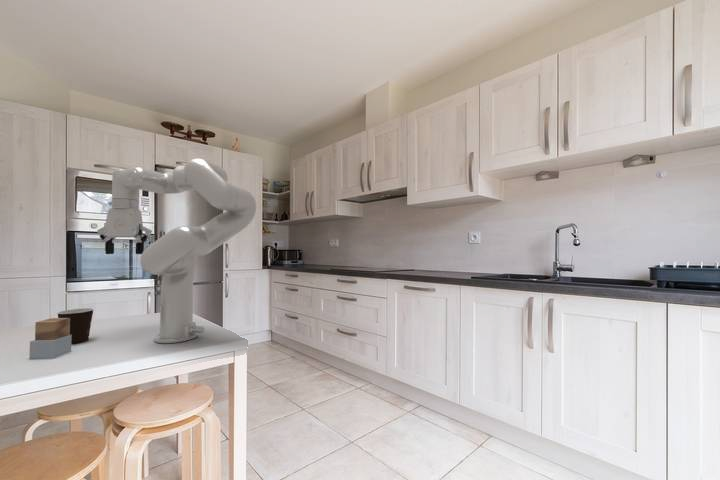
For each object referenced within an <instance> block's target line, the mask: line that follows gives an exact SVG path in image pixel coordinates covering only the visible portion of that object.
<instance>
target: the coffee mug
mask: <svg viewBox="0 0 720 480" xmlns="http://www.w3.org/2000/svg"><path fill="white" fill-rule="evenodd" d="M93 314H94V308H91V307H90V308H88V307H84V308H83V307H82V308H73V309H65V310H60V311H58V312H57V318H70V335H72V339H71V346H73V345H78V344H83V343H85V342H89V337H90V331H91V326H92V319H93Z"/></svg>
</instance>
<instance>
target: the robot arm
mask: <svg viewBox="0 0 720 480" xmlns="http://www.w3.org/2000/svg"><path fill="white" fill-rule="evenodd" d="M111 175H112V176H111V177H112V179H111V180H112V183H111V185H112V186H111V201H108V206H111V208H108V211H107V214H106V217H105V224H104V225H105V226H103V227H101V228H99V229H97V234H98V236H99V238H100V239H101V240H102V241H103V243H104V244H105V245H104V251H105V255H114V254H115V242H113V241H115V239H116V238H134V239H135V240H136V241H137V242H135V254H136V255H141V256H140V259H139V261H140V267H141V269H143V271H145V272H146V273H148V274H150V275H154V276H156V275H157V276H158V275H163V278H162V281H161V284H160V299H159V300H160V301H159V302H160V304H159V305H160V306H159V307H160V308H159V309H160V310H159V311H160V312H159V313H160V314H159V315H160V316H159V333H158V334H156V335H155V336H154V338H153V340H154V342H155V343H159V344H176V343H181V342H186V341H190V340H193V339H195V338H196V337H197V336H198V334H203V333H205V331H206V328H205V327H204V326H203V325H197V322H194V320H193V319H194V316H193V315H194V307H193V306H194V300H193V299H194V278H195V277H194V276H195V272H196V266H197V257H199V256H201V257H202V256H206V255H208V254H210V253H211V252H213V251H214V250H216V249H217V248H219V247H220V246H222V245H223V244H225V243H226V242H227V241H229V240H230V239H232V238H233V237H235V236H236V235H238V234H239V233H240V232H242V231H243V230H244V229H246V228H247V227H248V226H249V225H250V224H252V223H251V222H252V221H253V220H254V217H255V215H256V211H257V202H256V199H255V197H254V195H253V194H252V193H251V192H250V191H249V190H247V189H246V188H243V187H240V186H237V185H234V184H231V183H229V182H228V180H229V177H228V174H227V172H226V171H225V168H223V167H222V166H220V165H218V164H216V163H214V162H211V161H209V160H206V159H205V158H192V159H190V160H188V161H187V162H186V164H183V165H177V166H176V167H174V169H173V171H172V173H161V172H159V171H155V170H152V169H148V168H145V167H141V166H132V167H129V168H116V169H114V170H113V172H112V174H111ZM140 191H145V192H150V193H154V194H162V195H163V194H164V195H165V194H167V195H169V194H180V193H184V192H188V191H189V192H190V191H191V192H192V191H193V192H194V191H196V192H197V193H198V194H200V196H201V197H202V198H203V199H205V200H206V201H207V202H208V203H209V204H210V205H211V206H212V207H214V208H216V209H217V210H221V211H224V212H222V213H220V214H218V215H216V216H214V217H213V218H211V219H210V220H208V221H207V222H205V223H204V224H202V225H198V226H192V225H191V226H190V225H182V226H178V227H175V228H172V229H171V230H169V231H168V232H166V233H165V234H164V235H162V236H161V237H159V238H158V239H157V240H155V241H153V242H151V244H149V245H148V246H147V247H145V243H146V241H147V240H149V238H150V236H151V235H152V233H153V230H151V229H150V228H148V227H146V226H144V225H143V223H144V222H143V215H142V212H141V209H140V207H139V206H140V203H139V202H140V201H139V200H140Z"/></svg>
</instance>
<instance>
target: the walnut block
mask: <svg viewBox="0 0 720 480" xmlns="http://www.w3.org/2000/svg"><path fill="white" fill-rule="evenodd" d="M68 335H70V318H58V317H51V318H48V319H47V318H46V319H43V320H40V321H36V322H35V331H34V340H56V339H59V338H62V337H65V336H68Z"/></svg>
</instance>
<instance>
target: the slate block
mask: <svg viewBox="0 0 720 480" xmlns="http://www.w3.org/2000/svg"><path fill="white" fill-rule="evenodd" d="M71 339H72V335H68V336H65V337H62V338H59V339H56V340H35V339H33V340H30V341H29V358H28V359H29V360H47V359H48V360H52V359H56V358H59V357H60V356H63V355H66V354H68V353H70V352H72V345H71Z"/></svg>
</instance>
